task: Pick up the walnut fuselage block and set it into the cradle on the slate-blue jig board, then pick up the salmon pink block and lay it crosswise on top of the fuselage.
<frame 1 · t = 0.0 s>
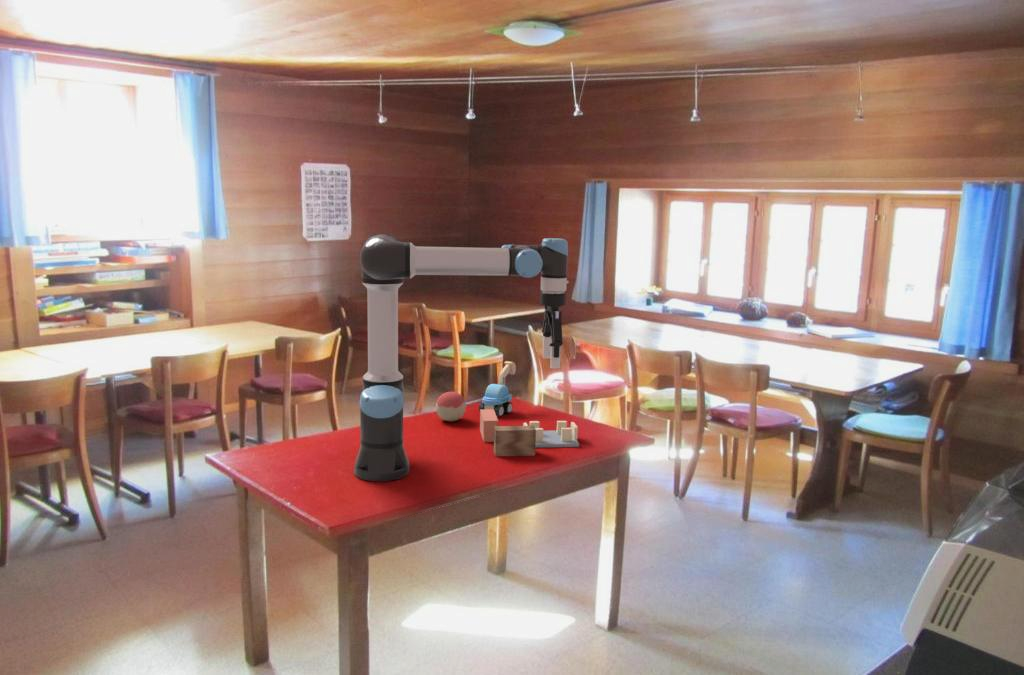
hand: (551, 363, 237), 28 cm above the table, fingers open, 13 cm apart
salmon pink block: (488, 435, 258), on the table
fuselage: (514, 453, 241), on the table
toy: (451, 420, 274), on the table
jig: (549, 440, 255), on the table
toy excavator: (500, 411, 286), on the table
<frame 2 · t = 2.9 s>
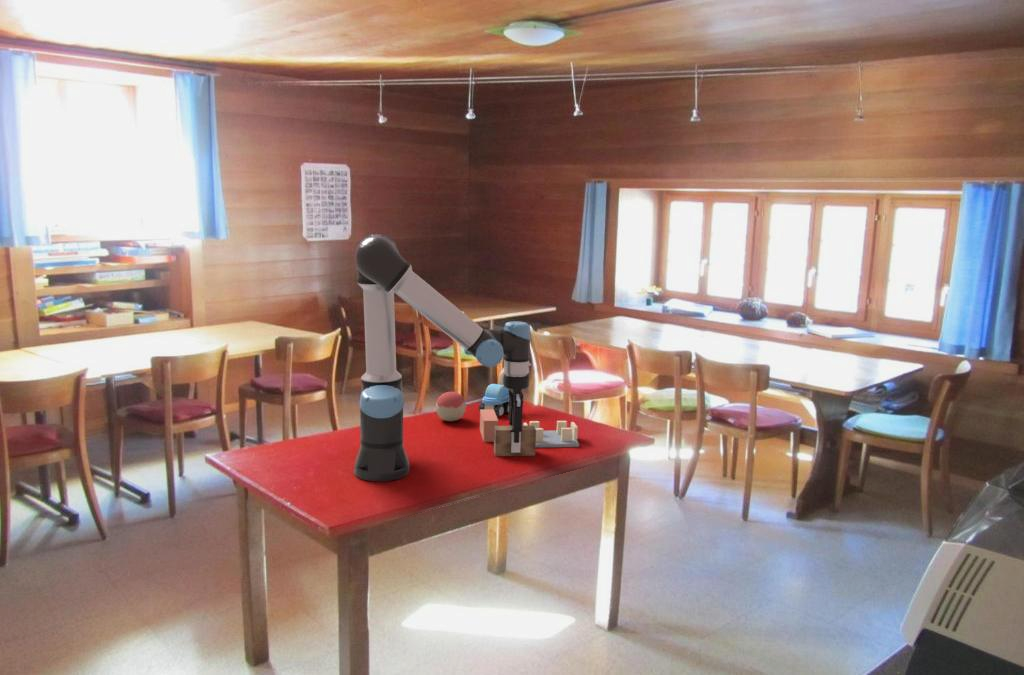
hand: (514, 449, 241), 1 cm above the table, fingers closed on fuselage, 4 cm apart
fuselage: (514, 453, 241), on the table, touching gripper
everything else where it was.
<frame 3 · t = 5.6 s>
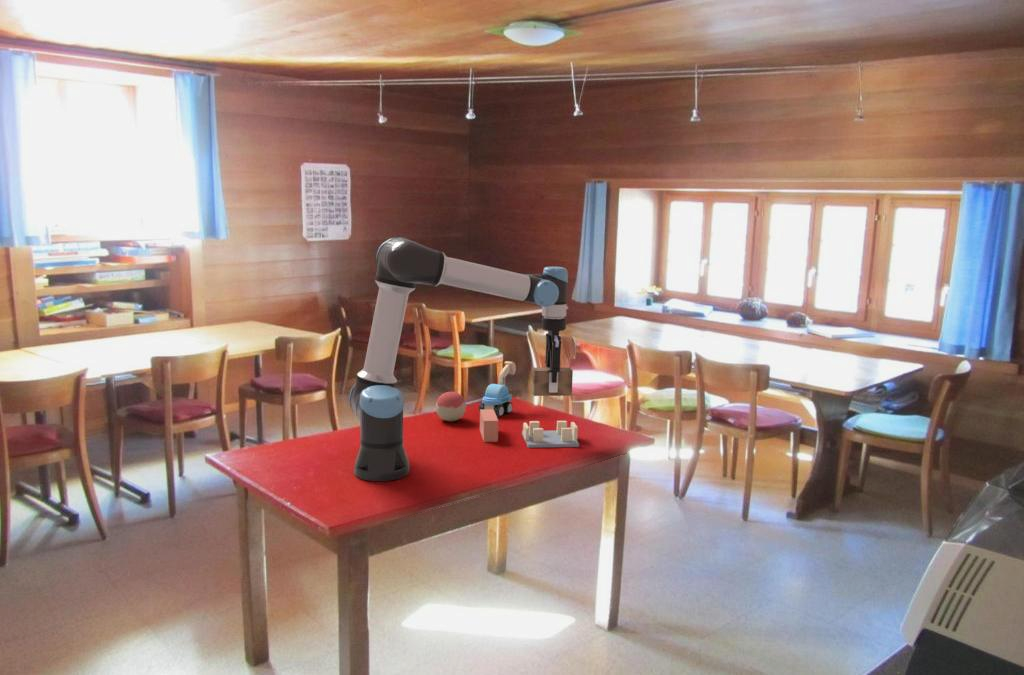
hand: (551, 390, 252), 16 cm above the table, fingers closed on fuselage, 4 cm apart
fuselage: (551, 393, 252), point 15 cm above the table, touching gripper
everything else where it was.
when the fingers open (4 cm above the table, at t = 8.1 s): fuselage drops 1 cm, resting on jig.
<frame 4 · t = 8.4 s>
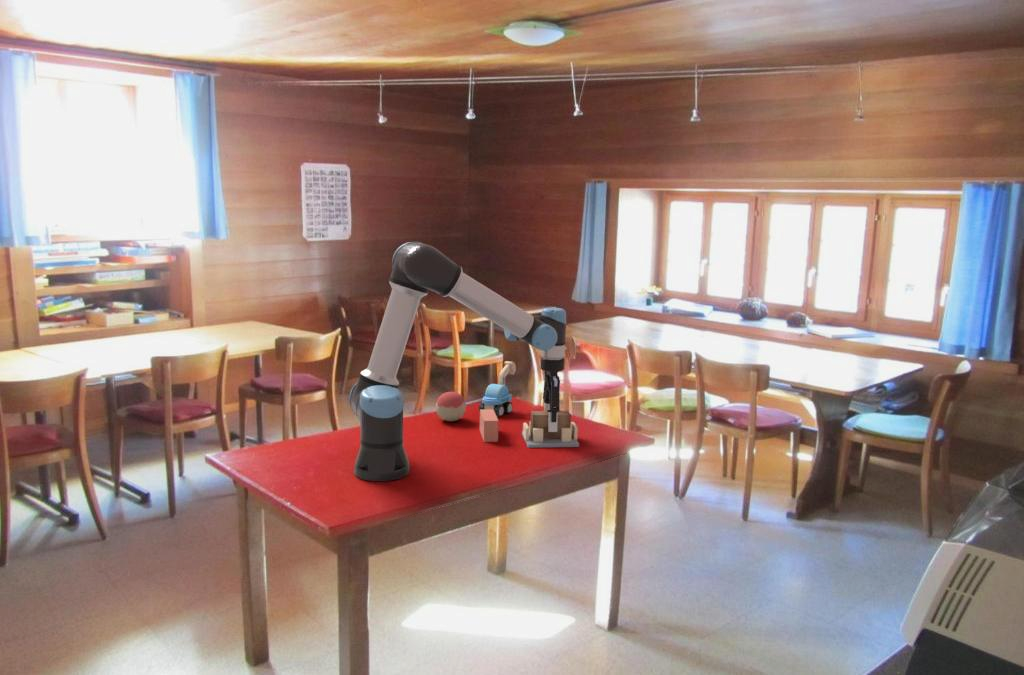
hand: (550, 427, 254), 4 cm above the table, fingers open, 8 cm apart
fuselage: (549, 437, 254), point 1 cm above the table, touching jig
everything else where it was.
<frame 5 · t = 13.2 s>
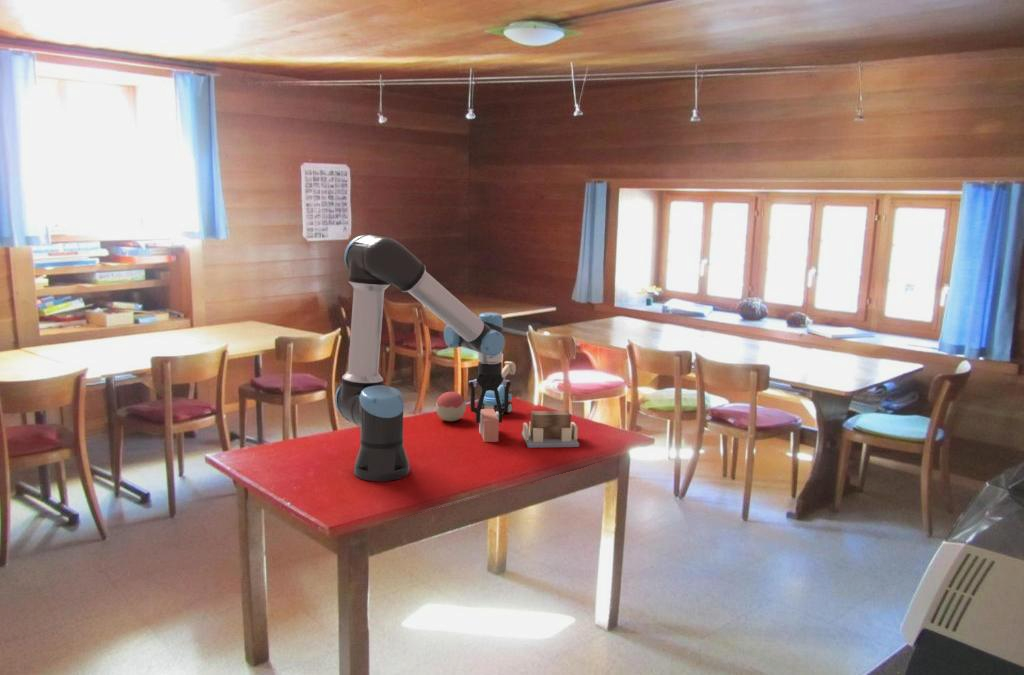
hand: (488, 432, 258), 1 cm above the table, fingers closed on salmon pink block, 4 cm apart
salmon pink block: (488, 435, 258), on the table, touching gripper
everything else where it was.
when the fingers open (11 cm above the table, at t = 17.7 s): salmon pink block drops 1 cm, resting on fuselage.
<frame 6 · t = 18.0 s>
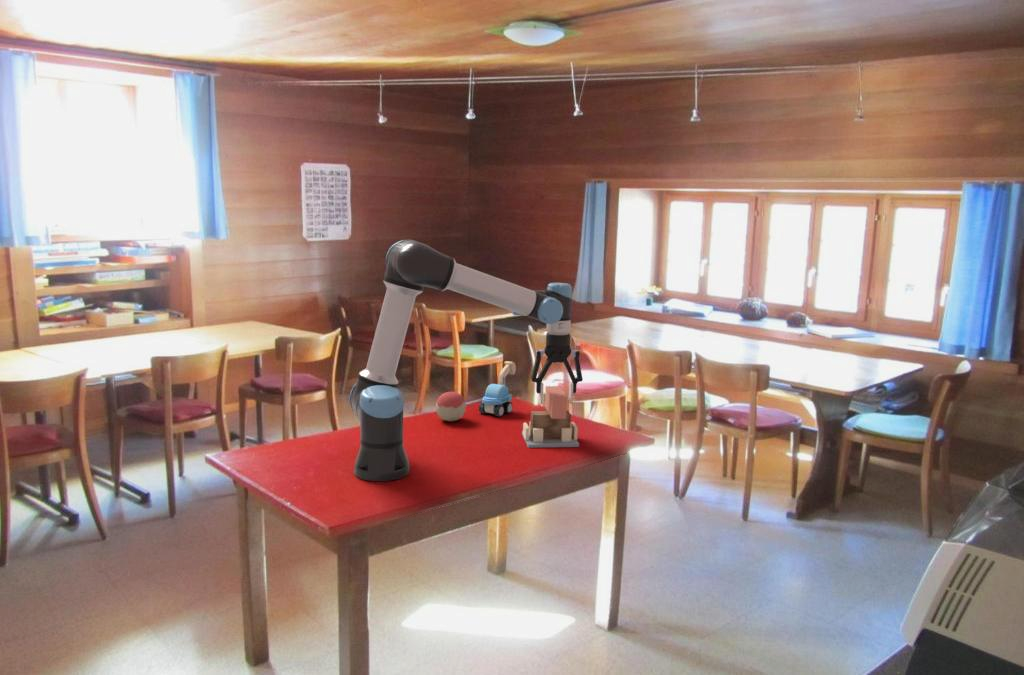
hand: (555, 403, 253), 12 cm above the table, fingers open, 9 cm apart
salmon pink block: (555, 412, 253), point 9 cm above the table, touching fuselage
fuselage: (549, 437, 254), point 1 cm above the table, touching jig, salmon pink block
everything else where it was.
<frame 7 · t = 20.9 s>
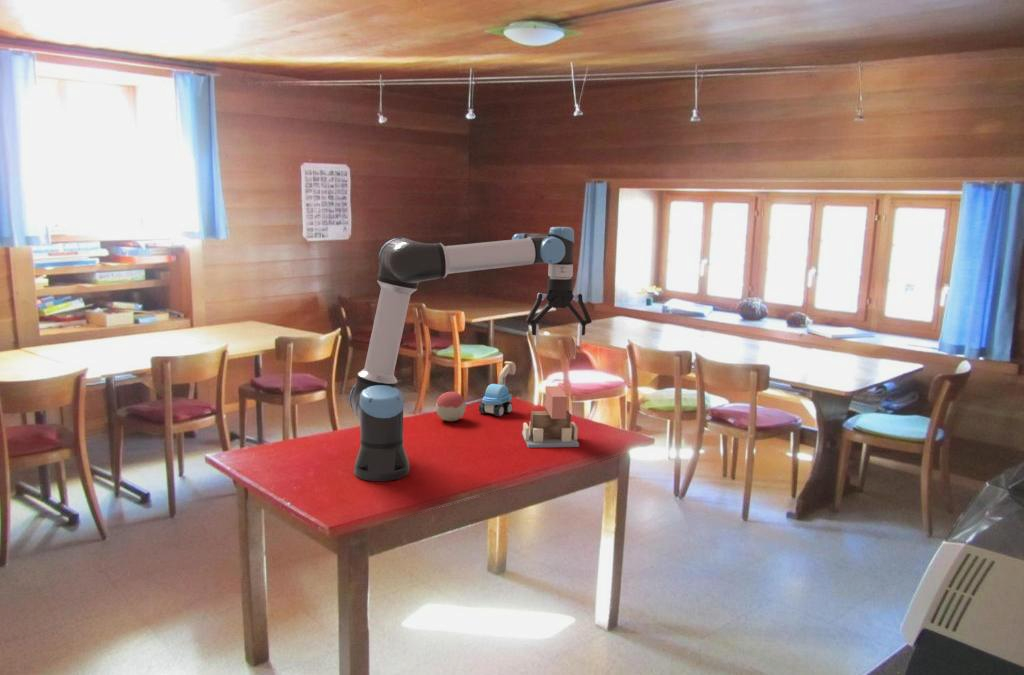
hand: (557, 345, 249), 31 cm above the table, fingers open, 13 cm apart
nothing on the table moved.
at the end: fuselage 0.0 cm off-centre on the jig, point 1.0 cm above the jig's base; salmon pink block inside the target area on the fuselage (0.3 cm from its centre), point 8.0 cm above the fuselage's base; salmon pink block tilted 0° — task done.
